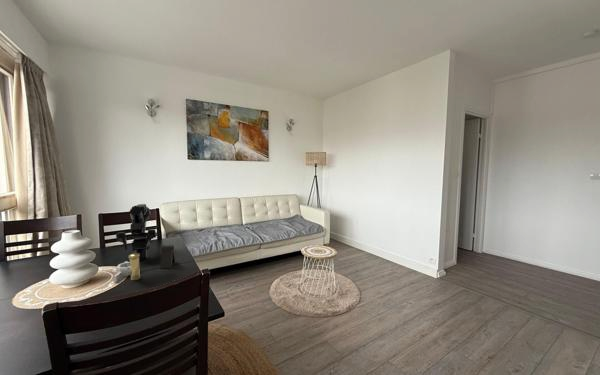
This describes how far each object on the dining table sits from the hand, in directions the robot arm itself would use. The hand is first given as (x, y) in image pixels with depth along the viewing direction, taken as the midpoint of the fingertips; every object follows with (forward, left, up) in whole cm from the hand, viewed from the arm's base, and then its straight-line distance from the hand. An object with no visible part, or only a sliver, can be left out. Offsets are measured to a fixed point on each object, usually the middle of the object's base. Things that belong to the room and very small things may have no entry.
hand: (136, 248), depth 137 cm
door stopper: (-5, +15, -14) cm, 21 cm away
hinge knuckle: (-1, -5, -13) cm, 15 cm away
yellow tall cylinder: (+8, +1, -13) cm, 16 cm away
